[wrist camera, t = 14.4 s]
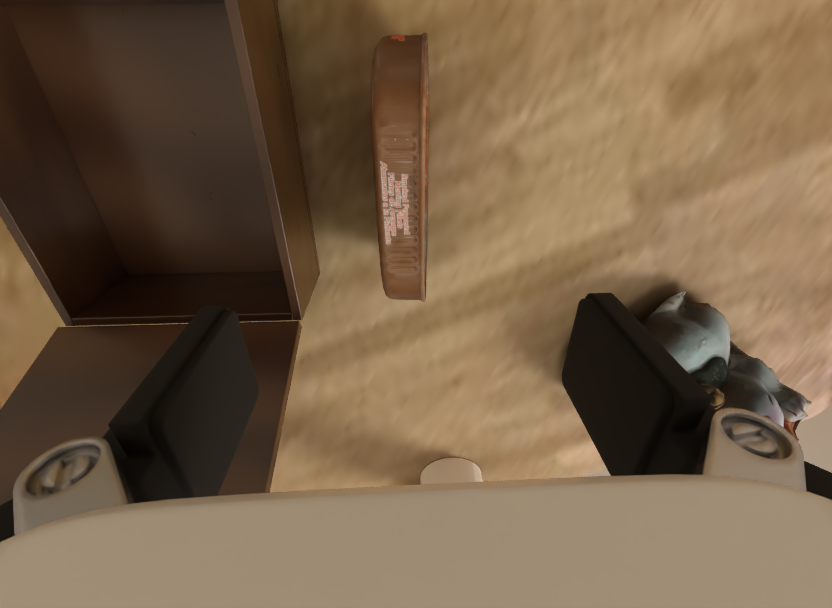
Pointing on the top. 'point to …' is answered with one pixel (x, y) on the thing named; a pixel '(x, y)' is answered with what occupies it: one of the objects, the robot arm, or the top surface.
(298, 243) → the chest
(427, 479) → the cylindrical container
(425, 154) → the tin
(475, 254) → the top surface
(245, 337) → the lid
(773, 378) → the lucky cat figurine
